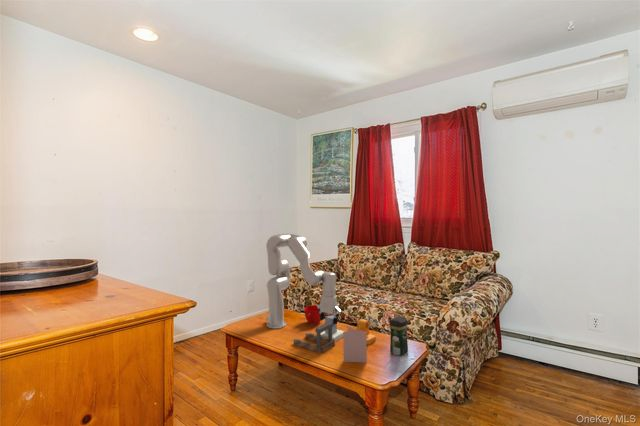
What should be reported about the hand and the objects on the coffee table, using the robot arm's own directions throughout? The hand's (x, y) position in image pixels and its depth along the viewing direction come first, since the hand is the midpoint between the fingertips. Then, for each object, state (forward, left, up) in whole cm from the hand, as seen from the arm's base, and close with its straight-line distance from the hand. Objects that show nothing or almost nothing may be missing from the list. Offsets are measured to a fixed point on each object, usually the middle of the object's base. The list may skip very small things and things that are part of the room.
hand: (328, 321), depth 191 cm
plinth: (+2, 0, -9) cm, 9 cm away
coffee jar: (+43, +4, -9) cm, 44 cm away
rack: (+1, -15, -9) cm, 17 cm away
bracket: (+22, +6, -9) cm, 24 cm away
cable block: (+2, 0, -6) cm, 6 cm away
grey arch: (+8, -15, -5) cm, 18 cm away
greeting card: (+29, -18, -9) cm, 35 cm away
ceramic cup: (-20, +10, -9) cm, 24 cm away
